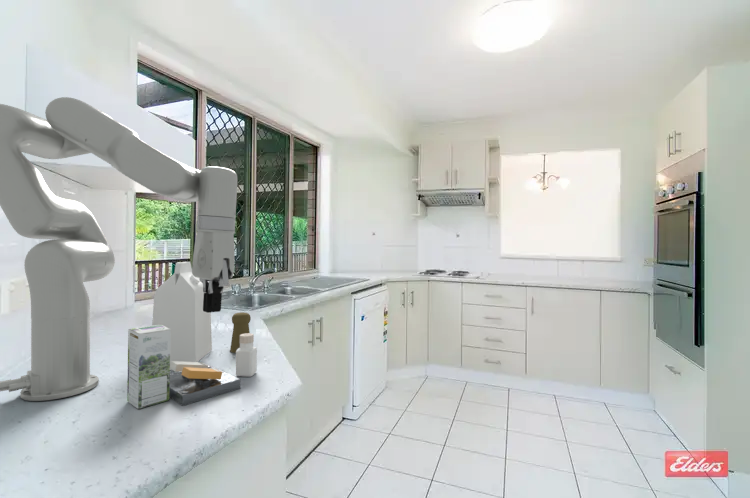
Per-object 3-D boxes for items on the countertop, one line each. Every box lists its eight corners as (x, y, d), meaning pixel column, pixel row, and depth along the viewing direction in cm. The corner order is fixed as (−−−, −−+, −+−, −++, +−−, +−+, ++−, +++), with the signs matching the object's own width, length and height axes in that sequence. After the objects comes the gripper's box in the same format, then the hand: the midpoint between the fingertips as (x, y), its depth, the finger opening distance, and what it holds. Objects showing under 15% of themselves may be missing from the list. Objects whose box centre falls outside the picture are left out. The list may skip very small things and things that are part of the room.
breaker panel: (182, 405, 72) (182, 390, 72) (154, 387, 81) (155, 374, 81) (240, 388, 81) (240, 374, 81) (209, 373, 90) (209, 361, 90)
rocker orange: (188, 378, 74) (190, 370, 75) (181, 374, 77) (183, 366, 77) (220, 379, 80) (222, 371, 80) (213, 375, 82) (215, 368, 82)
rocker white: (174, 371, 79) (176, 363, 79) (168, 368, 81) (170, 360, 81) (206, 372, 84) (208, 365, 84) (200, 369, 86) (202, 362, 86)
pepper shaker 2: (241, 371, 92) (241, 332, 91) (257, 371, 91) (257, 332, 91) (234, 377, 88) (235, 336, 87) (251, 377, 87) (252, 336, 87)
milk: (171, 350, 109) (171, 261, 109) (212, 350, 110) (212, 261, 110) (149, 363, 97) (150, 263, 97) (195, 363, 98) (196, 263, 98)
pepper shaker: (247, 353, 107) (247, 314, 107) (226, 353, 107) (226, 314, 107) (254, 347, 113) (255, 311, 113) (234, 347, 113) (235, 310, 113)
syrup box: (158, 393, 78) (158, 323, 78) (170, 401, 74) (171, 327, 74) (126, 402, 73) (127, 327, 73) (138, 410, 69) (138, 332, 69)
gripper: (183, 224, 82) (179, 307, 82) (216, 224, 73) (211, 319, 73) (216, 227, 88) (212, 305, 88) (251, 227, 78) (246, 315, 78)
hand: (211, 311), depth 80 cm, fingers closed
